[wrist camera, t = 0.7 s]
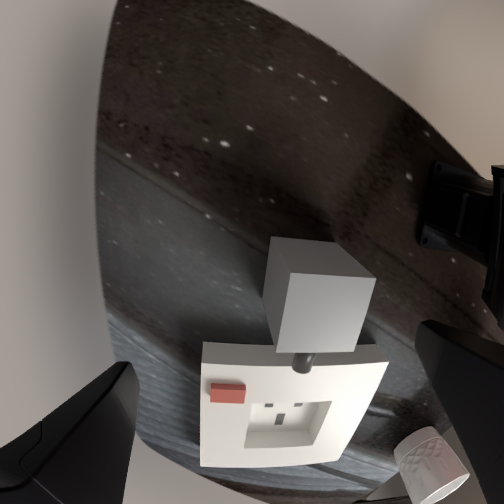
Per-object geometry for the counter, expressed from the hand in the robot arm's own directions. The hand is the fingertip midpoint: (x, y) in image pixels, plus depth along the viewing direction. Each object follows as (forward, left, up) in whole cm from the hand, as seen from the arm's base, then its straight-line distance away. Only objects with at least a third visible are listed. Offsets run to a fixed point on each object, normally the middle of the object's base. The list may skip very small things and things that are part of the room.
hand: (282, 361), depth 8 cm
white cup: (-25, +26, -12) cm, 38 cm away
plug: (-3, +3, -11) cm, 12 cm away
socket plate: (-4, +15, -11) cm, 19 cm away
